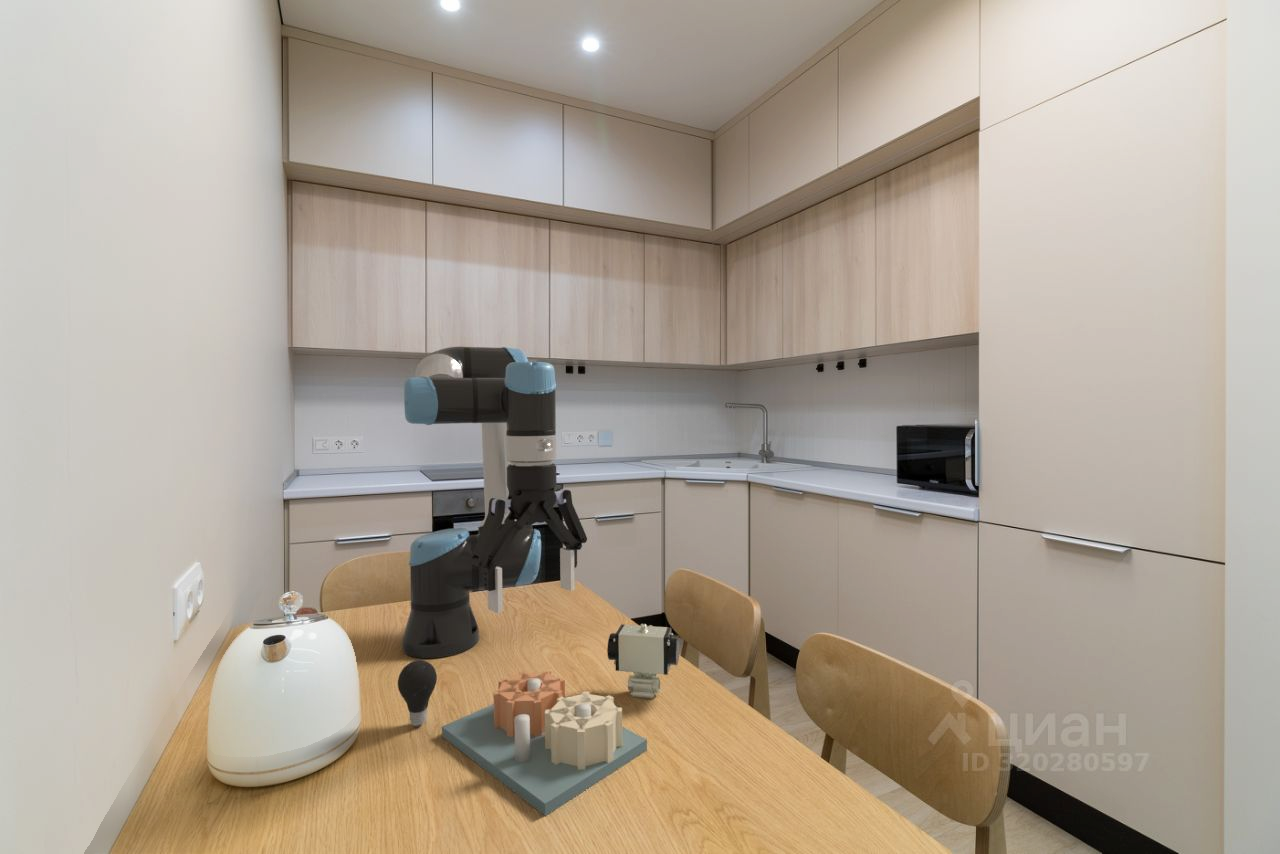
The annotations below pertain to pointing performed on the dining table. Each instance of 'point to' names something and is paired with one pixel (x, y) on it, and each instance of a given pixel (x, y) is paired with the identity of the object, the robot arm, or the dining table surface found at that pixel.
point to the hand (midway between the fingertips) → (533, 599)
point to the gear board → (539, 767)
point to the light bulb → (417, 689)
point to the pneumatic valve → (643, 656)
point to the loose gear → (526, 700)
